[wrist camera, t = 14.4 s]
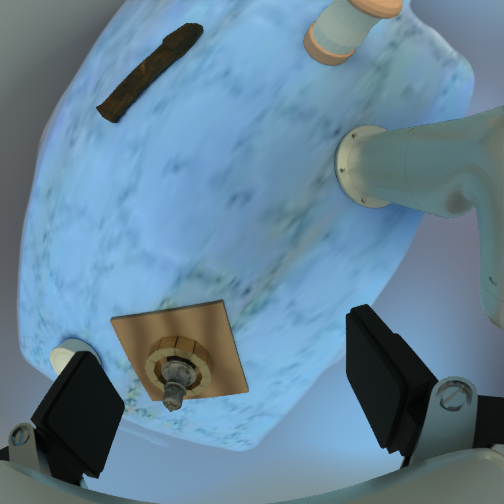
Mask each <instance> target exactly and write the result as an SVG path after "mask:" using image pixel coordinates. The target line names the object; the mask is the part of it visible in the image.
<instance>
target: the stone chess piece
mask: <svg viewBox="0 0 504 504" xmlns="http://www.w3.org/2000/svg"><path fill="white" fill-rule="evenodd" d="M195 367H196V365H195V364H194V363H193V362H191V361H190V360H189V359H186V358H182V357H179V356H167V362H166V363H165V364H164V365H163V366H162V369H161V372H162V375H163V377H164V378H165V379H166V380H167V383H166V384H165V385H164V391H165V393H164V397H163V404H164V406H165V407H166V408H168V410H169V411H170V412H172V411H173V410H178V409H180V408H181V406H182V401H183V396H185V395H186V393H187V390H186V388H185V387H186V386H188V385H190V384H192V383H193V382H194V381H195V380H196V372H195V369H194V368H195Z"/></svg>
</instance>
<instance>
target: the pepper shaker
mask: <svg viewBox="0 0 504 504" xmlns="http://www.w3.org/2000/svg"><path fill="white" fill-rule="evenodd" d="M401 9H402V0H334V2H333V3H332V4H331V5H330V6H328V7H327V8H326V9H325V10H324V11H323V12H322V13H321V14H320V15H319V17H318V19H317V21H315V22H314V23H313V24H312V25H311V26H310V28H309V29H308V31H307V33H306V35H305V37H304V47H305V49H306V51H307V53H308V54H309V55H310V56H311V57H312V58H313V59H315V60H316V61H318V62H320V63H323V64H325V65H333V66H334V65H339V64H341V63H343V62H345V61H346V60H347V59H348V58H349V57H350V56H351V55H353V53H354V52H355V50H356V48H357V47H358V46H359V45H360V44H361V43H362V42H363V41H364V39H365V38H366V36H367V34H368V33H369V31H370V30H371V28H372V27H373V26H375V25H376V24H377V23H378V22H379V21H380V20H381V19H389V18H393V17H395V16H398V14H399V13H400V11H401Z"/></svg>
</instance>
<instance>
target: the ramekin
mask: <svg viewBox="0 0 504 504" xmlns="http://www.w3.org/2000/svg"><path fill="white" fill-rule="evenodd" d="M77 351H90V352H91V353H92V354H94V355H95V356H96V358H97V359H98V361H99V363H100V365H101V361H100V359H99V356H98V355H97V353H96V352H95V351H94V349H93V348H92V347H91V346H89V345H88V344H87V343H85V342H83V341H81V340H78V339H67V340H65V341H64V342H63V343H61V344H60V345H59V346H57V347H55V348H54V349H53V350H52V352H51V354H50V360H51V364H52V366H53V368H54V370H55V371H56V373H57V374H58V375H60V373H61V372H62V370H63V369H64V368H65V366H66V365H67V363H68V362H69V361H70V359H71V358H72V356H73V355H74V354H75V353H76V352H77Z"/></svg>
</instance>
